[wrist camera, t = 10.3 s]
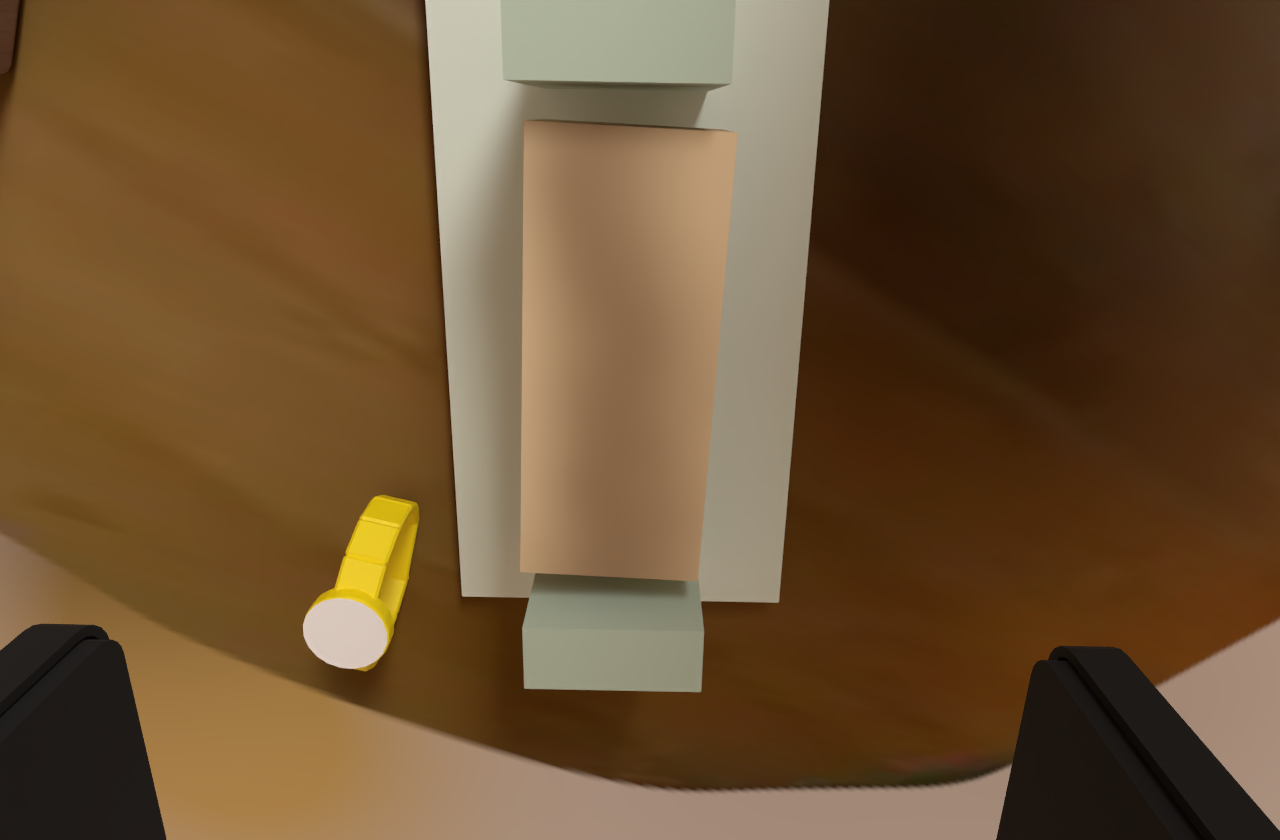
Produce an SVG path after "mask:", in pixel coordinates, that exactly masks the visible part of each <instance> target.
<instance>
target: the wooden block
mask: <svg viewBox="0 0 1280 840" xmlns="http://www.w3.org/2000/svg"><path fill="white" fill-rule="evenodd" d="M19 3H20V0H0V74H5V73H7V72H8V71H9V69H10V67H11V66H12V59H13V51H14V43H15V35H16V27H17V19H18V11H19Z"/></svg>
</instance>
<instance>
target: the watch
mask: <svg viewBox="0 0 1280 840" xmlns="http://www.w3.org/2000/svg"><path fill="white" fill-rule="evenodd" d="M419 519H420V517H419V507H418V505H417V503H416V502H412V501H408V500H404V499H399V498H395V497H391V496H386V495H380V496H376V497H374V498H373V499H372V500H371V501H370V503H369V504H368V506H367V507H366V509H365V510H364V512H363V513H362V515H361V517H360V520H359V521H358V523H357V525H356V528H355V530H354V532H353V535H352V537H351V540H350V542H349V545H348V547H347V549H346V552H345V553H346V556H345V557H344V558H343V561H342V564H341V568H340V571H339V575H338V578H337V581H336V585H335V588H334V589H330V590H328V591H327V592H325V593H323V594H321V595H320V596H319V597H318V598H317V599H316V600H315V602H314V603H313V604H312V606H311V607H310V609H309V610H308V612H307V614H306V617H305V620H304V623H303V633H304V638H305V640H306V642H307V645H308V647H309V648H310V649H311V650H312V651H313V653H314V654H315V655H316V656H317V657H319V658H320V659H322V660H323V661H325V662H326V663H328V664H331V665H334V666H337V667H340V668H349V669H356V670H361V671H367V670H369V669H371V668H373V667H375V665H376V664H377V662H378V660H379V659H380V658H381V656H382V655H383V654H384V653H385V652H386V650H387V648H388V646H389V644H390V641H391V639H392V636H393V634H394V624H395V621H396V619H397V613H399V610H400V606H401V603H402V599H403V596H404V593H405V589H406V586H407V583H408V582H407V581H408V580H409V571H410V565H411V560H412V555H413V549H414V544H415V539H416V534H417V528H418V523H419Z"/></svg>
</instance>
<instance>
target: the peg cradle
mask: <svg viewBox="0 0 1280 840" xmlns="http://www.w3.org/2000/svg"><path fill="white" fill-rule="evenodd" d="M425 4H426V20H427V36H428V52H429V68H430V85H431V101H432V117H433V133H434V149H435V166H436V182H437V198H438V214H439V230H440V247H441V263H442V279H443V295H444V311H445V328H446V344H447V360H448V376H449V393H450V409H451V425H452V441H453V457H454V474H455V490H456V506H457V522H458V538H459V555H460V571H461V587H462V596H464V597H515V598H529V602H528V606H527V610H526V614H525V618H524V623H523V627H522V638H523V666H524V689H565V690H616V691H667V692H701V685H702V665H703V645H704V625H703V616H702V607H701V601H722V602H773V603H779V595H780V583H781V571H782V559H783V547H784V535H785V523H786V511H787V499H788V487H789V475H790V463H791V452H792V440H793V428H794V416H795V404H796V392H797V380H798V368H799V356H800V344H801V332H802V320H803V308H804V297H805V285H806V273H807V261H808V249H809V237H810V225H811V213H812V201H813V189H814V177H815V165H816V153H817V141H818V130H819V118H820V106H821V94H822V82H823V70H824V58H825V46H826V34H827V22H828V10H829V0H425ZM535 119H554V120H571V121H589V122H606V123H623V124H640V125H657V126H674V127H691V128H708V129H724V130H728V131H732V132H737V133H738V135H737V146H736V158H735V169H734V180H733V191H732V203H731V214H730V225H729V236H728V247H727V259H726V270H725V281H724V292H723V303H722V315H721V326H720V337H719V348H718V360H717V371H716V382H715V393H714V404H713V416H712V427H711V438H710V449H709V460H708V472H707V483H706V494H705V505H704V517H703V528H702V539H701V550H700V561H699V573H698V581H679V580H660V579H641V578H622V577H603V576H584V575H565V574H546V573H527V572H520V537H521V415H522V293H523V170H524V120H535Z"/></svg>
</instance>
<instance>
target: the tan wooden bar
mask: <svg viewBox="0 0 1280 840" xmlns="http://www.w3.org/2000/svg"><path fill="white" fill-rule="evenodd" d="M737 135H738V133H737V132H732V131H728V130H724V129H708V128H691V127H674V126H657V125H640V124H623V123H606V122H589V121H571V120H554V119H535V120H524V170H523V293H522V415H521V537H520V572H527V573H546V574H565V575H584V576H603V577H622V578H641V579H660V580H679V581H698V573H699V561H700V550H701V539H702V528H703V517H704V505H705V494H706V483H707V472H708V460H709V449H710V438H711V427H712V416H713V404H714V393H715V382H716V371H717V360H718V348H719V337H720V326H721V315H722V303H723V292H724V281H725V270H726V259H727V247H728V236H729V225H730V214H731V203H732V191H733V180H734V169H735V158H736V146H737Z"/></svg>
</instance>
